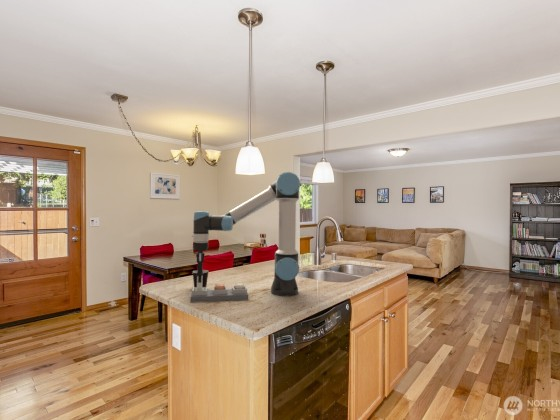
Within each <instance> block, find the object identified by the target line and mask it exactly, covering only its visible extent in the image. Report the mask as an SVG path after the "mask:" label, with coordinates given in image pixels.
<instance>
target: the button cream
mask: <svg viewBox="0 0 560 420" xmlns="http://www.w3.org/2000/svg"><path fill="white" fill-rule="evenodd" d="M234 286H235V289H244V286H245V284H244V283H235V284H234Z"/></svg>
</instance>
